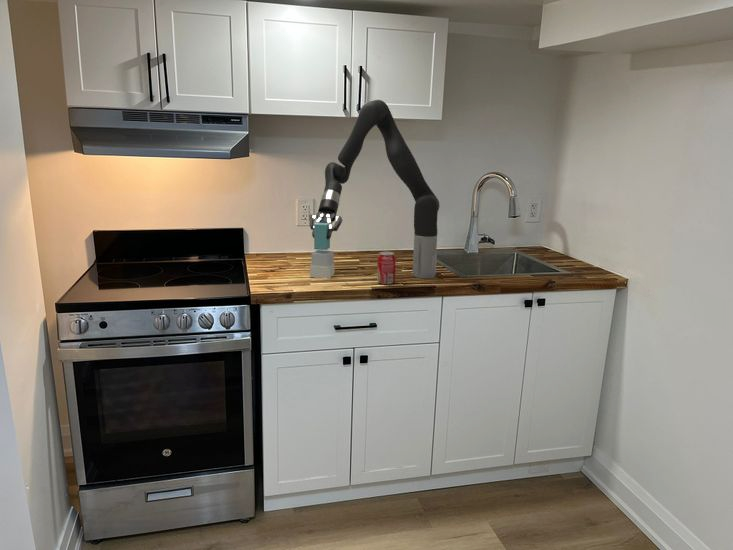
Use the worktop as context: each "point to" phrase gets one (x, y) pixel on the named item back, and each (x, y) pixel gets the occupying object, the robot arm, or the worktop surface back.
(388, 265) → the soda can
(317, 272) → the tower base
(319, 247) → the pillar
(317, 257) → the tower top
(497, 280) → the worktop surface
